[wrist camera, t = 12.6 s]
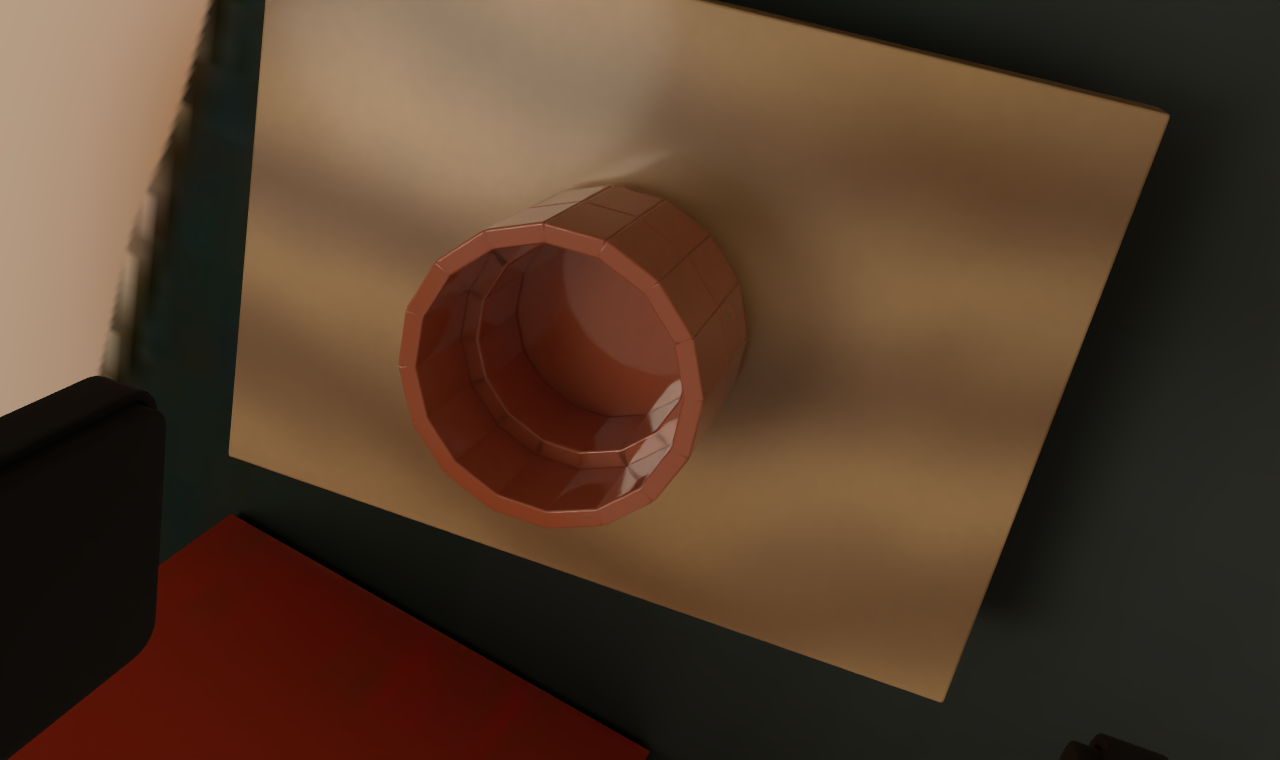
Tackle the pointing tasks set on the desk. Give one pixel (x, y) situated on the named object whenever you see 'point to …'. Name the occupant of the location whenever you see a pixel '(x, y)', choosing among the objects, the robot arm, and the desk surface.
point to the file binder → (307, 676)
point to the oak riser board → (757, 254)
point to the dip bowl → (573, 355)
